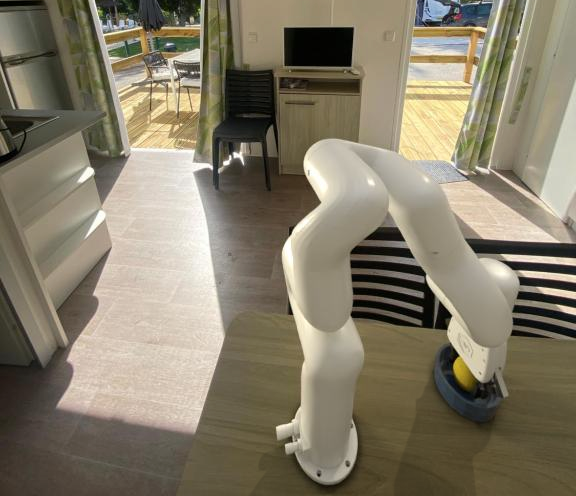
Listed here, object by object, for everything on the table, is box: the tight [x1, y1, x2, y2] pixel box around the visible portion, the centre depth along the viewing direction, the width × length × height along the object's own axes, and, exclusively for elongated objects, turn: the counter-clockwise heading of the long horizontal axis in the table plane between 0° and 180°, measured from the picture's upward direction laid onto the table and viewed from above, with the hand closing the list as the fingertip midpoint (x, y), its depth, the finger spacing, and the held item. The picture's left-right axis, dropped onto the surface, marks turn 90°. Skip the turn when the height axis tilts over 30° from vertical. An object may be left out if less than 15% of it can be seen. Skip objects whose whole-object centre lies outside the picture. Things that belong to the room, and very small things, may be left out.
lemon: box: [453, 356, 478, 393], centre depth 64 cm, size 6×6×8 cm
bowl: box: [433, 342, 502, 423], centre depth 65 cm, size 12×12×5 cm
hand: (466, 377), depth 64 cm, fingers open, 5 cm apart
